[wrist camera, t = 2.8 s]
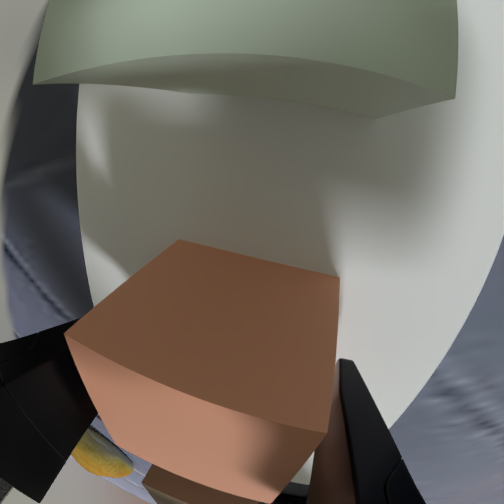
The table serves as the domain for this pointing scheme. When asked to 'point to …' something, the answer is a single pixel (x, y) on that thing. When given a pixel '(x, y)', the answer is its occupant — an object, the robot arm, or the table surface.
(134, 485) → the table surface
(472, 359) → the table surface
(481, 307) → the table surface
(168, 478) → the walnut block
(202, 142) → the white mat
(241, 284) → the terracotta block
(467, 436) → the table surface
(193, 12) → the sage block
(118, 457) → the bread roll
